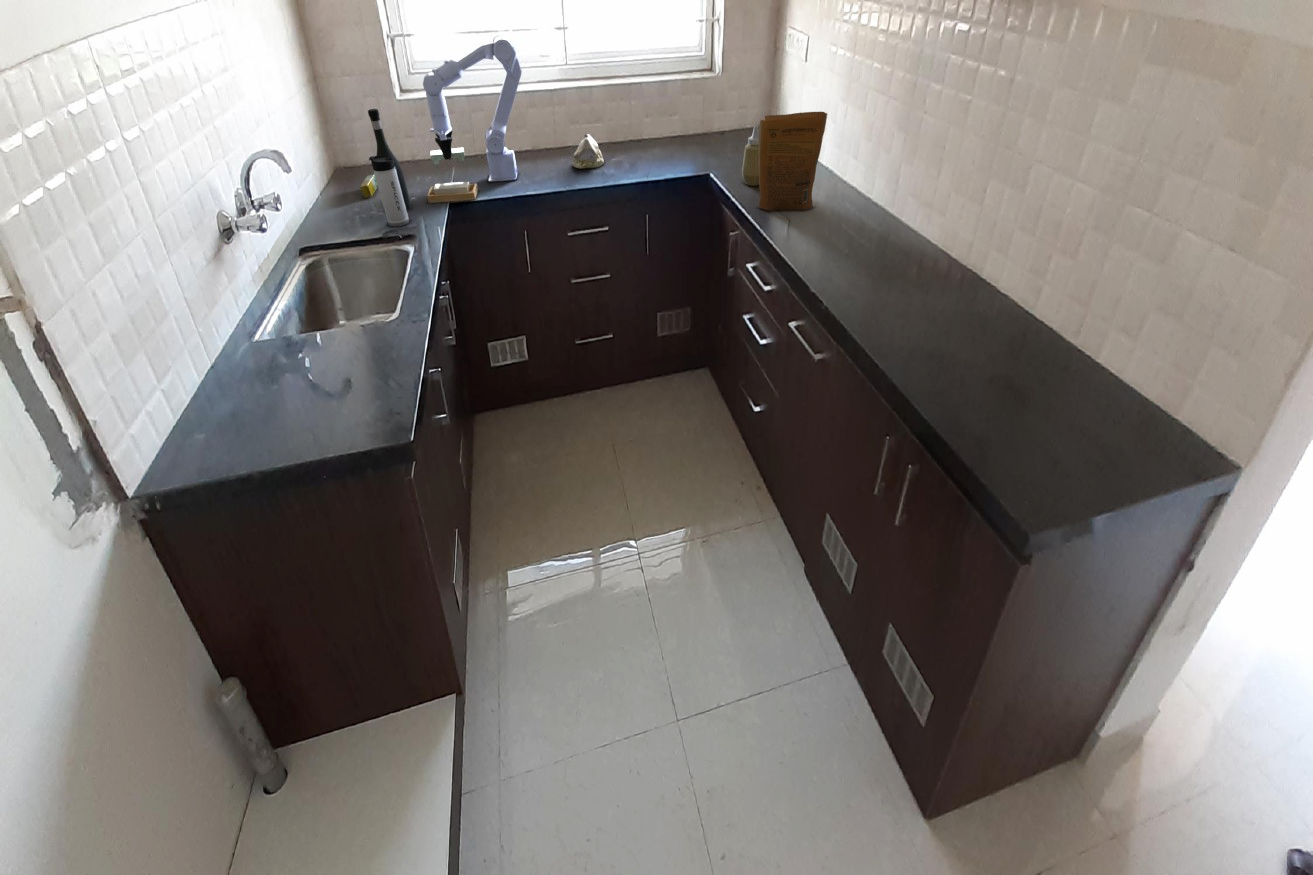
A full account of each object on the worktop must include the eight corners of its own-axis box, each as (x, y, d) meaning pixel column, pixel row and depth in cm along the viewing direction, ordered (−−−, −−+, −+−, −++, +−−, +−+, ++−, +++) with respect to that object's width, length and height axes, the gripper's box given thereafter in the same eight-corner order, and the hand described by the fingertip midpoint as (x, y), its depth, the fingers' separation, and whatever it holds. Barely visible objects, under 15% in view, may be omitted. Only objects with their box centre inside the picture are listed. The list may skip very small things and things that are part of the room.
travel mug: (389, 219, 223) (371, 154, 210) (411, 218, 223) (394, 152, 211) (385, 227, 218) (366, 160, 205) (407, 226, 218) (389, 159, 206)
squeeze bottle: (768, 180, 238) (772, 123, 227) (761, 188, 232) (764, 130, 221) (745, 178, 241) (748, 121, 230) (737, 185, 235) (739, 128, 224)
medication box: (371, 186, 248) (367, 175, 245) (379, 185, 248) (374, 173, 245) (364, 198, 238) (359, 186, 236) (372, 196, 238) (367, 185, 236)
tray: (477, 190, 241) (476, 183, 239) (475, 199, 234) (473, 192, 232) (432, 193, 240) (430, 186, 239) (428, 203, 233) (426, 196, 232)
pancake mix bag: (818, 212, 215) (829, 114, 197) (754, 213, 216) (759, 115, 199) (816, 204, 220) (826, 107, 202) (754, 205, 221) (758, 108, 204)
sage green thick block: (465, 157, 246) (463, 147, 244) (465, 161, 242) (463, 152, 240) (432, 160, 244) (430, 151, 242) (432, 165, 240) (430, 155, 238)
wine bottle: (388, 215, 226) (361, 115, 207) (384, 207, 231) (356, 109, 212) (414, 210, 228) (389, 110, 210) (408, 202, 234) (383, 105, 215)
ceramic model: (602, 168, 254) (600, 139, 247) (571, 169, 254) (568, 140, 248) (605, 156, 265) (603, 127, 258) (575, 157, 265) (572, 128, 259)
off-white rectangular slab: (470, 191, 239) (468, 181, 237) (468, 196, 235) (466, 187, 233) (437, 193, 238) (435, 184, 236) (435, 199, 234) (433, 189, 232)
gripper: (427, 109, 239) (436, 151, 247) (426, 121, 227) (436, 164, 236) (448, 107, 240) (457, 149, 248) (448, 118, 229) (457, 162, 237)
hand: (448, 156), depth 242 cm, fingers closed on sage green thick block, 5 cm apart
